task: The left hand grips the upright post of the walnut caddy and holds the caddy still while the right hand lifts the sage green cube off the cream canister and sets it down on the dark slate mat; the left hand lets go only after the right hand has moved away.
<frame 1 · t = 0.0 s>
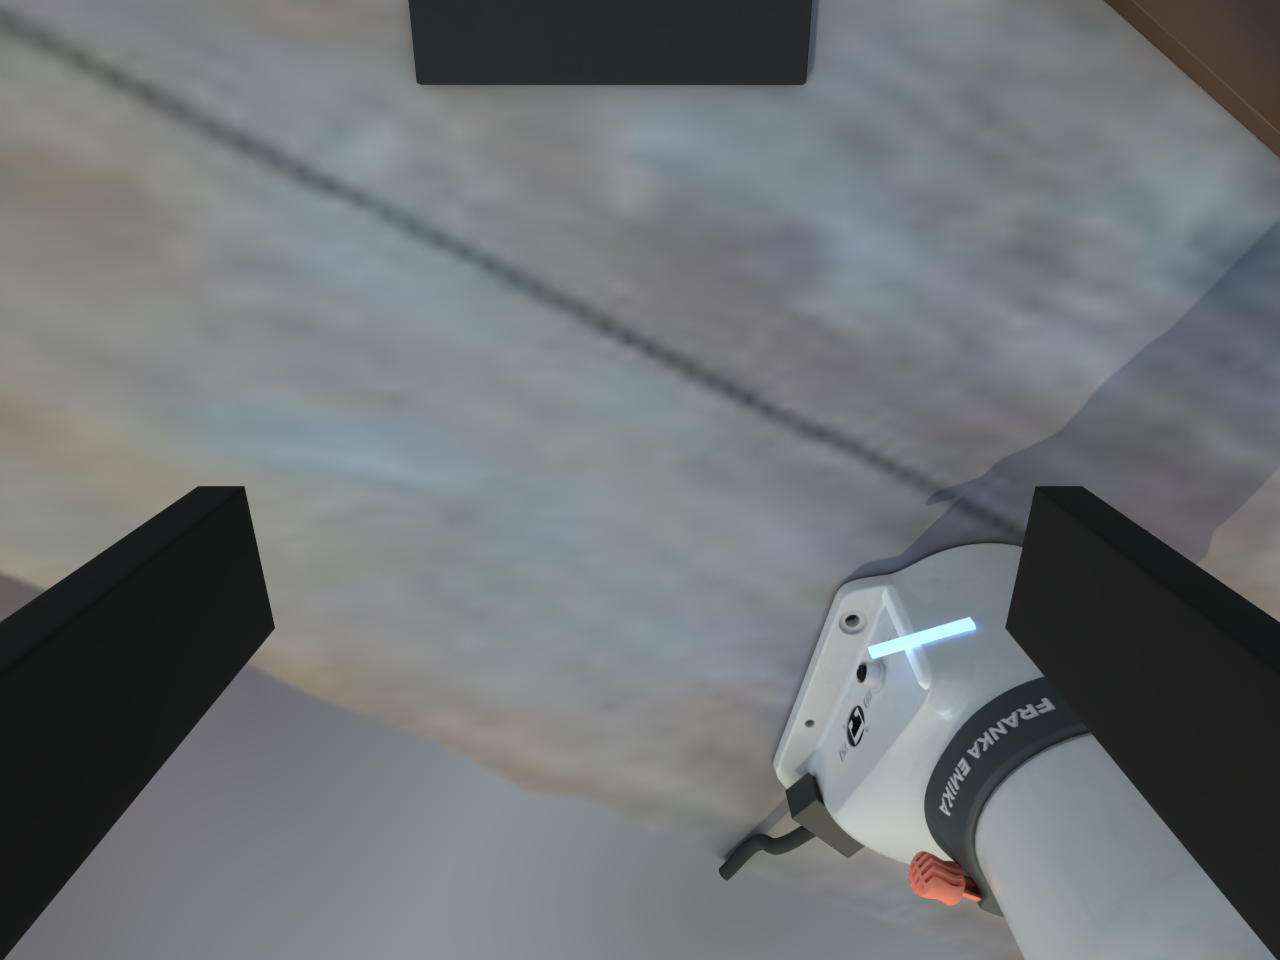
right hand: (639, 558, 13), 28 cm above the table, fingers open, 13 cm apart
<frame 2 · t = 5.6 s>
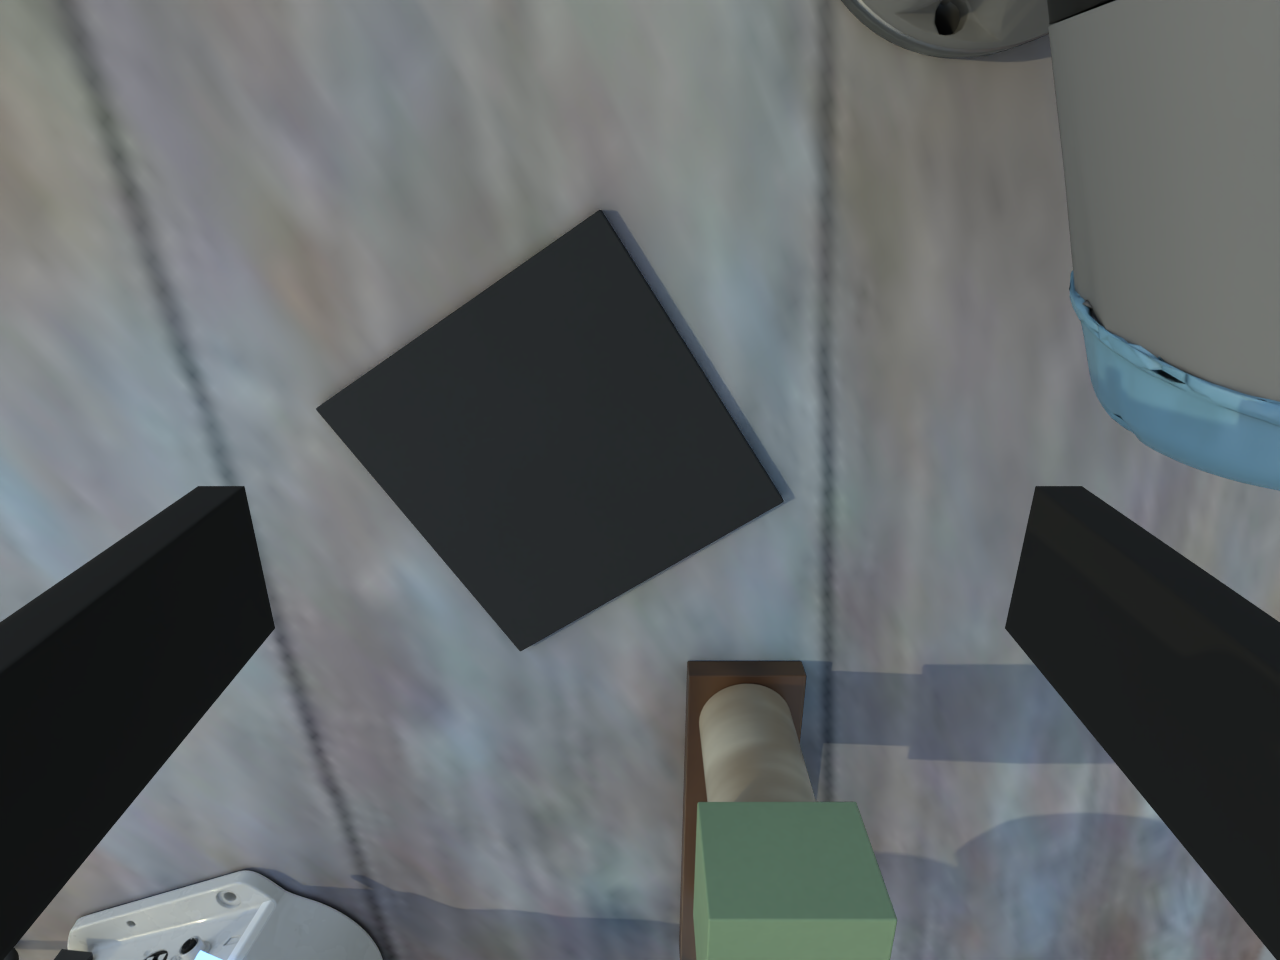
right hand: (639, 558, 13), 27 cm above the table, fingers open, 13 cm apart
caddy: (734, 815, 50), on the table, touching sage green cube, left hand
slate mat: (556, 452, 40), on the table
sage green cube: (771, 859, 36), point 12 cm above the table, touching caddy
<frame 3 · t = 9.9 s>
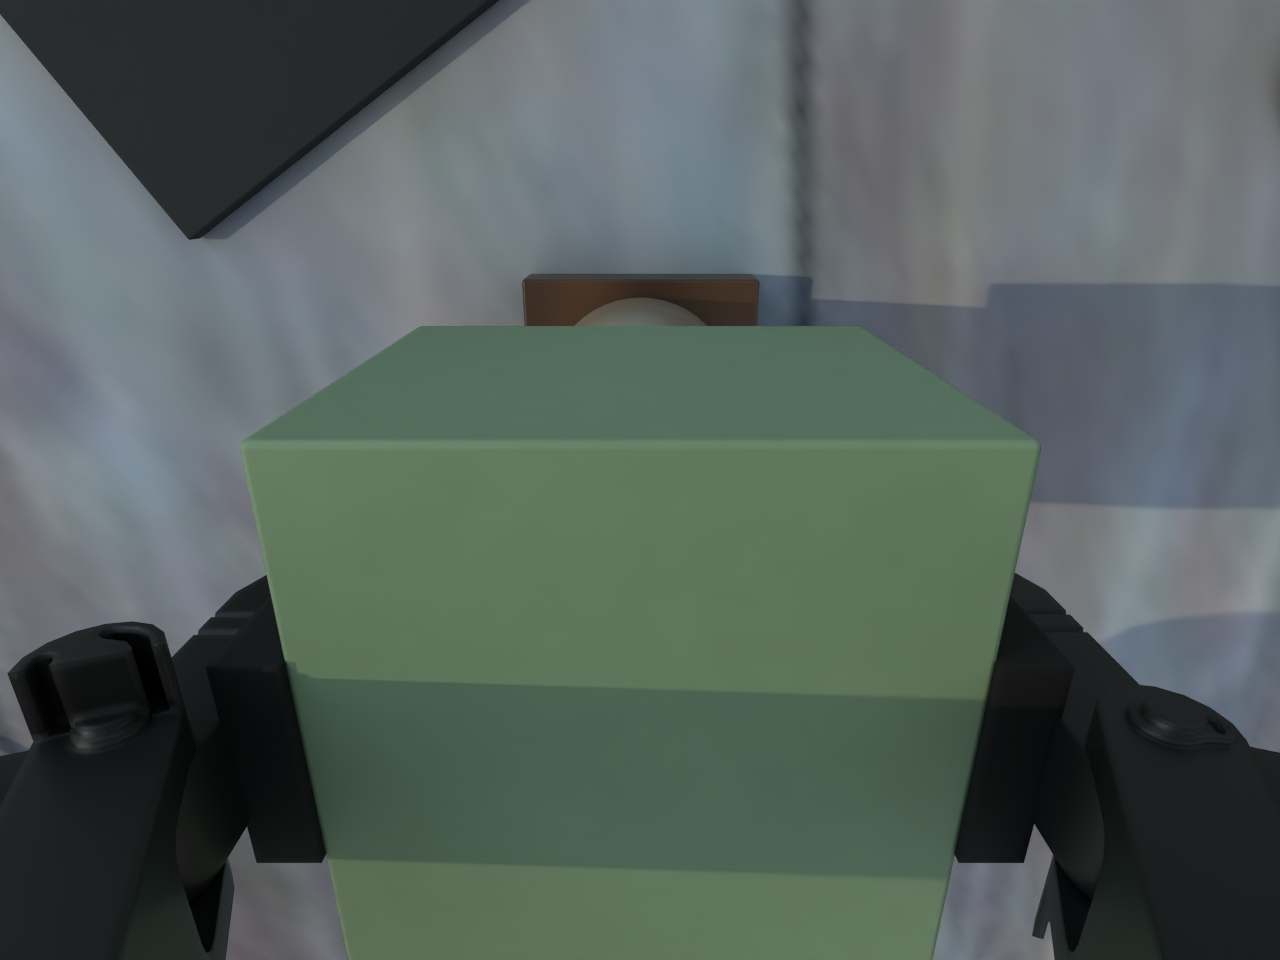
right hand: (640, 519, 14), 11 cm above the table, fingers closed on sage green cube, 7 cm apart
caddy: (640, 617, 28), on the table, touching sage green cube, left hand
sage green cube: (640, 526, 14), point 12 cm above the table, touching caddy, right hand
when the right hand's fingers open (3 cm above the table, at t = 17.5 s): sage green cube drops 2 cm, resting on slate mat.
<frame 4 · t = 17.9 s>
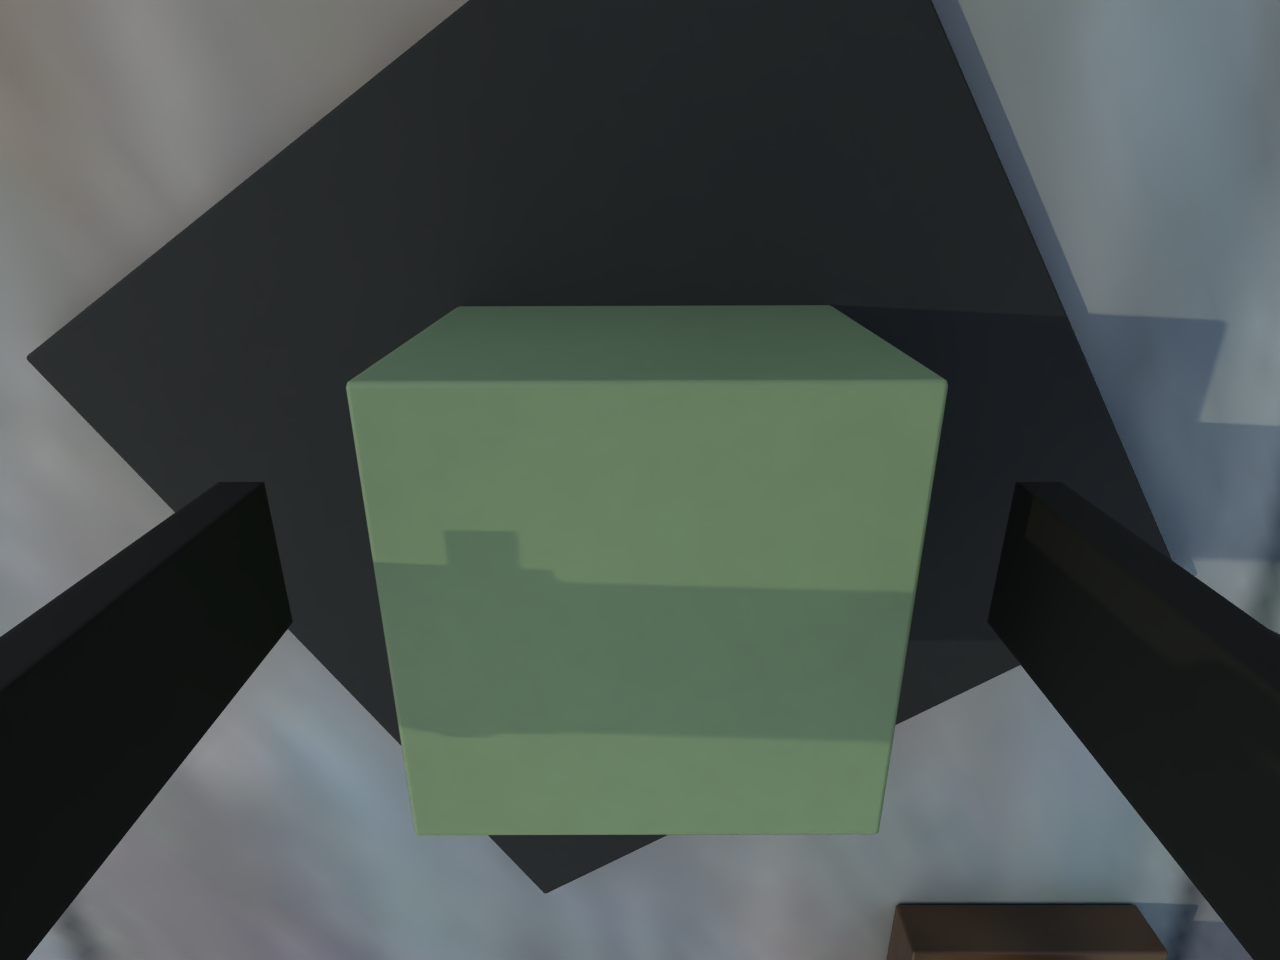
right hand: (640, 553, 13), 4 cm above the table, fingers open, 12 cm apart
slate mat: (639, 469, 16), on the table
sage green cube: (644, 479, 16), point 1 cm above the table, touching slate mat
when the left hand's fingers open (5 cm above the table, at t = 20.5 s): caddy stays where it is, on the table.
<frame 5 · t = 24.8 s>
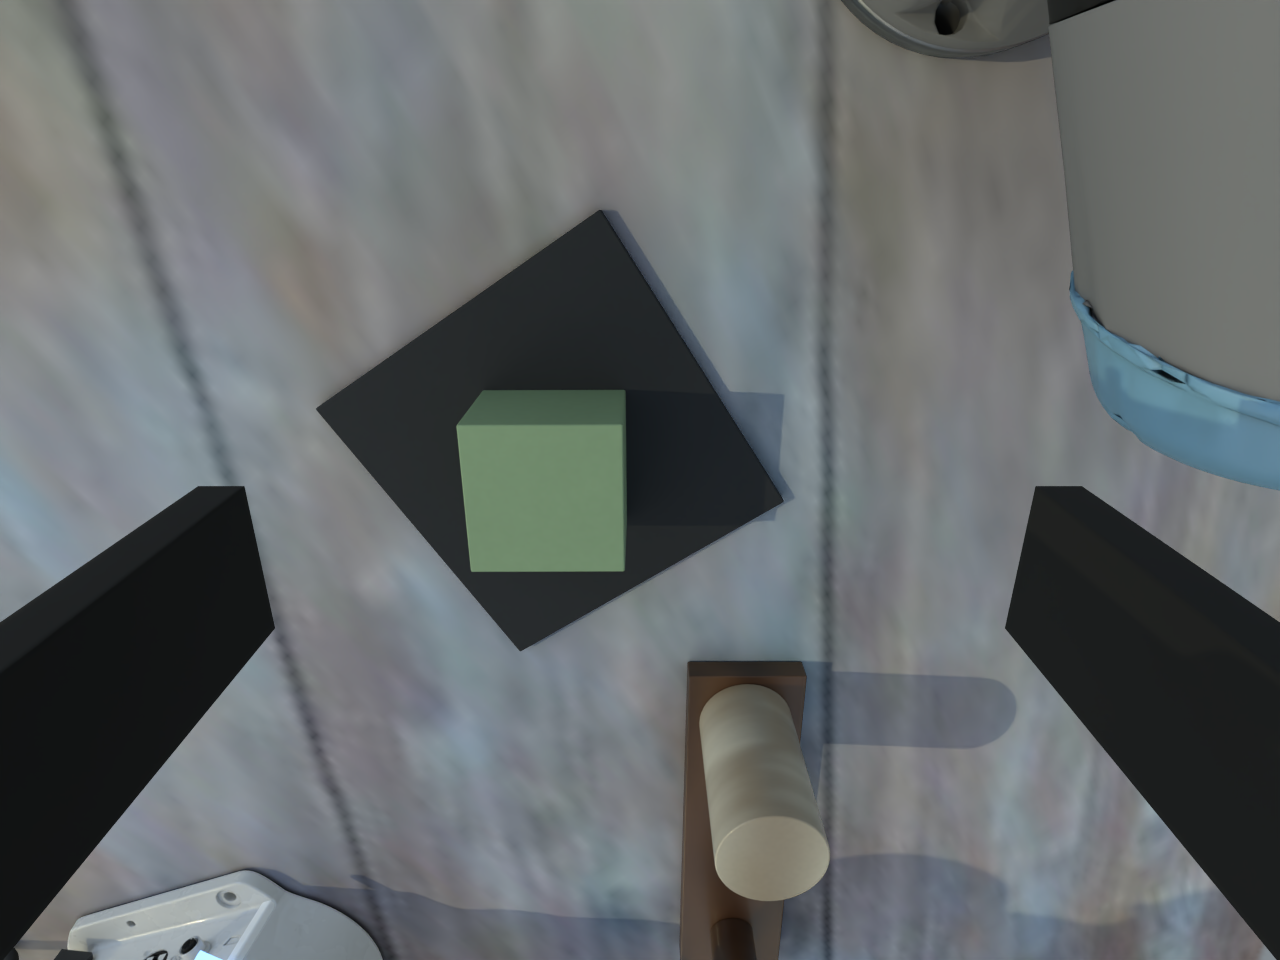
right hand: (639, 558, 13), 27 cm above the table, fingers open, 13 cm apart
caddy: (734, 816, 50), on the table
slate mat: (556, 452, 40), on the table
sage green cube: (557, 456, 40), point 1 cm above the table, touching slate mat
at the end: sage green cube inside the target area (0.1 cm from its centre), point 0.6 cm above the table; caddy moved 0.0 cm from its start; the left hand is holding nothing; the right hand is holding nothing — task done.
